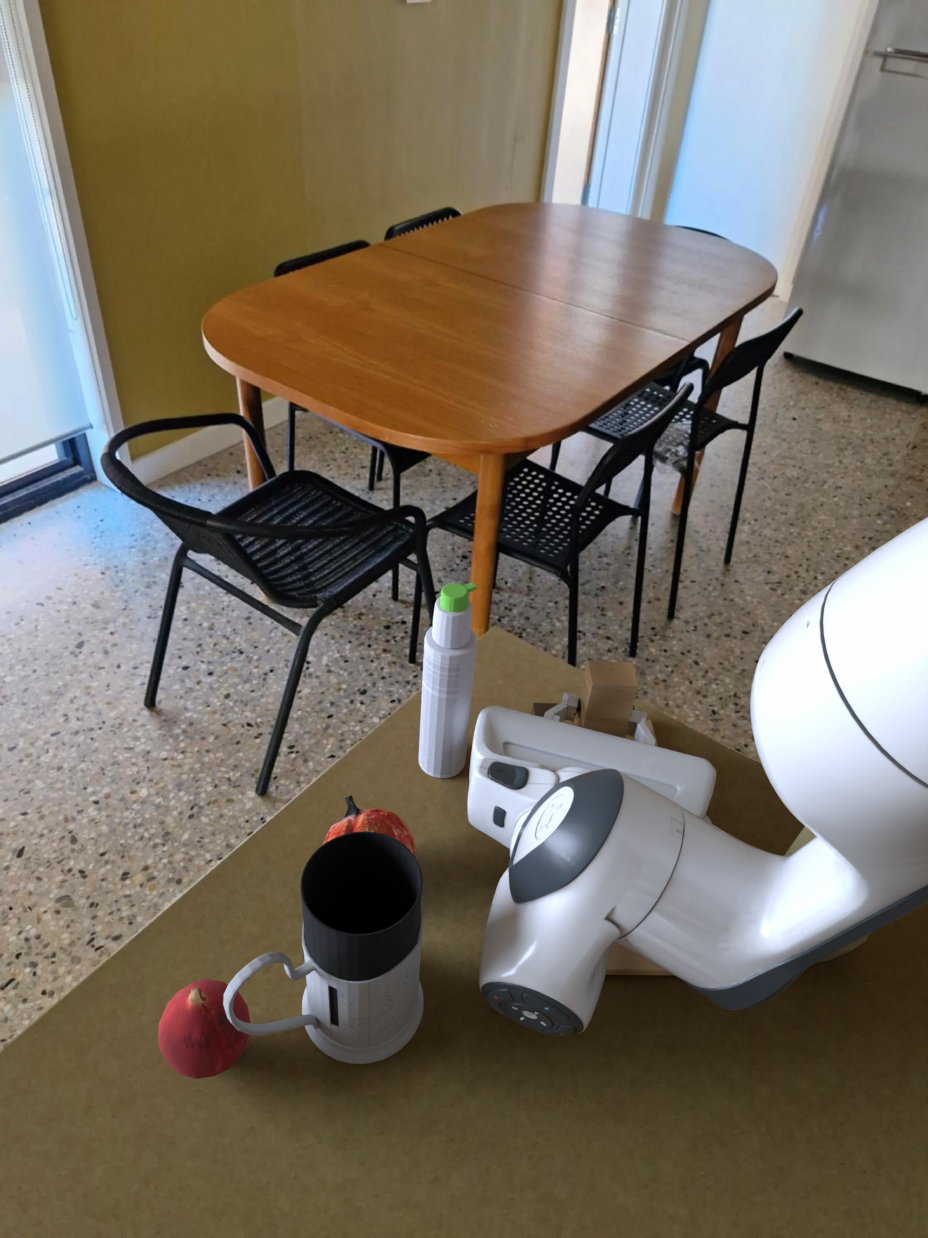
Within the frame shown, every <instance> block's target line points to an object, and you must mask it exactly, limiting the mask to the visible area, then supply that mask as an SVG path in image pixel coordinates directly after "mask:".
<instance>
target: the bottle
mask: <svg viewBox="0 0 928 1238" xmlns="http://www.w3.org/2000/svg"><path fill="white" fill-rule="evenodd" d="M477 587H478V586H477V585H476V584H475V583H474V582H472V581H471V582H469V583H465V584H464V585H463V584H460V583H457V582H451V583H447V584H445V585H443V587H441V590H440V596H439V597H438V598H437V599H436V600H435V603H434V608H433V616H432V626H431V627H429V629H428V630H427V631H426V633H425V635H424V641H423V659H422V660H423V662H422V681H421V682H422V683H421V701H420V718H419V719H420V723H419V740H418V741H419V743H418V744H419V745H418V764H419V766H420V769H421V770H422V771H423V772H424V773H425V774H426V775H428V776H430V777H432V778H435V779H436V778H437V779H450V778H453V777H455V776H457V775H459V774H460V773H461V772H462V770H463V769H464V768H465V765H466V760H467V759H466V758H467V751H468V741H469V732H470V731H469V728H470V721H471V720H470V719H471V710H472V701H473V700H472V698H473V689H474V681H475V669H476V661H477V659H476V658H477V651H478V637H477V634H476V633H475V632H474V630H473V629H472V625H473V605H472V602H471V600H470V599H469V593H471V592H474V591H476V590H477V589H478V588H477Z"/></svg>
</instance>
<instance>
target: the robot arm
mask: <svg viewBox="0 0 928 1238" xmlns="http://www.w3.org/2000/svg"><path fill="white" fill-rule="evenodd" d="M579 699H580V695H577V694H573V693H568V692H564V693H563V697H562V698H561V702H558V703H559V704H558V705H556V706H554V707H553V708H551V709H550V710H548V711H546V712H545V714H544V717H539V716H535V715H532V714H531V713H528V712H523V711H519V710H515V709H512V708H508V707H504V706H500V705H496V704H492V705H489V706H487V707H485V708H483V709H481V710H480V712H479V714H478V716H477V719H476V723H475V727H474V733H473V737H472V746H471V751H470V763H469V773H468V782H469V786H468V792H467V802H466V803H467V804H466V805H467V821H468V823H469V824H470V825H471V826H472V827H474V828H475V829H476V830H478V831H479V832H482V833H483V834H485V835H487V836H488V837H490V838H492V839H493V840H495V841H496V842H498V843H499V844H501V845H503V846H504V847H506V848H507V849H508V850H509V857H510V859H509V861H508V866H507V868H506V870H505V871H504V872H503V874H502V875H501V877H500V879H499V881H498V883H497V886H496V889H495V892H494V895H493V899H492V902H491V906H490V909H489V913H488V917H487V922H486V927H485V931H484V935H483V942H482V947H481V952H480V953H481V954H480V962H479V975H478V987H479V990H480V993H481V994H482V996H483V998H484V999H485V1000H486V1001H487V1002H488V1004H490V1005H491V1007H492V1009H494V1010H496V1011H497V1012H499V1013H500V1014H502V1015H504V1016H505V1017H507V1018H509V1019H510V1020H512V1021H513V1022H515V1023H517V1024H519V1025H521V1026H524V1027H525V1028H528V1029H530V1030H532V1031H534V1032H539V1033H542V1034H546V1035H548V1036H553V1037H568V1036H576V1035H580V1034H582V1033H583V1032H585V1031H586V1030H587V1028H588V1026H589V1024H590V1023H591V1020H592V1018H593V1015H594V1013H595V1009H596V1007H597V1004H598V1001H599V998H600V995H601V992H602V989H603V985H604V982H605V979H606V976H607V975H606V971H607V968H608V964H609V960H610V956H611V951H612V947H613V942H616V943H618V944H620V945H621V946H623V947H625V948H627V949H629V950H630V951H632V952H634V953H636V954H638V955H639V956H641V957H643V958H645V959H647V960H648V961H650V962H652V963H654V964H655V965H657V966H659V967H661V968H663V969H664V970H666V971H668V972H670V973H672V974H673V975H672V976H675V977H676V978H677V979H678V980H680V981H681V982H682V983H684V984H685V985H686V986H688V987H690V988H691V989H692V990H694V991H695V992H697V993H699V994H700V995H702V996H703V997H704V998H706V999H708V1001H710V1002H712V1003H714V1004H715V1005H717V1006H718V1007H719V1008H723V1009H726V1010H732V1011H735V1010H736V1011H737V1010H744V1009H747V1008H752V1007H756V1006H758V1005H761V1004H764V1003H766V1002H768V1001H771V1000H772V999H773V998H776V997H778V996H779V995H780V994H782V993H783V992H784V991H786V990H787V989H788V988H789V987H790V986H791V985H793V984H794V982H795V981H797V979H798V978H799V977H801V975H802V974H804V972H805V971H806V970H807V969H808V968H809V967H811V966H813V965H814V964H816V963H818V962H817V961H819V960H821V959H823V958H825V957H826V956H828V955H830V954H832V953H834V952H836V951H838V950H840V949H842V948H843V947H845V946H847V945H849V944H851V943H853V942H855V941H857V940H859V939H860V938H862V937H864V936H866V935H868V934H869V935H870V934H871V933H874V932H876V931H877V930H880V929H881V928H884V927H886V926H887V925H889V924H891V923H892V922H894V921H896V920H898V919H900V918H902V917H904V916H905V915H907V914H909V913H911V912H913V911H914V910H916V909H918V908H920V907H921V906H923V905H924V904H926V903H928V516H927V517H925V518H923V519H922V520H919V521H918V522H916V523H915V524H913V525H912V526H910V527H908V528H907V529H905V530H904V531H902V532H900V533H899V534H898V535H896V536H894V537H893V538H891V539H890V540H889V541H887V542H886V543H884V544H882V545H881V546H880V547H878V548H876V549H875V550H874V551H872V552H871V553H870V554H868V555H867V556H865V557H864V558H863V559H861V560H859V562H857V563H855V565H853V566H852V567H850V568H849V569H848V570H846V571H845V572H844V573H843V574H841V575H840V576H839V577H837V578H836V579H834V580H833V581H832V582H830V583H829V584H828V585H827V586H825V587H824V588H823V589H821V590H820V591H819V592H817V593H816V594H814V595H813V596H812V597H811V598H810V599H808V600H807V601H806V602H805V603H804V604H803V605H801V606H800V607H799V608H798V609H797V610H796V611H795V612H794V613H793V614H792V615H791V616H790V617H789V618H788V619H787V620H786V621H785V622H784V623H783V624H782V626H781V627H779V629H778V630H777V631H776V632H775V634H774V635H773V636H772V638H771V639H770V640H769V642H768V643H767V644H766V646H765V647H764V649H763V651H762V652H761V654H760V656H759V659H758V662H757V664H756V667H755V671H754V675H753V679H752V684H751V691H750V701H749V704H750V705H749V712H750V722H751V723H750V724H751V729H752V734H753V739H754V743H755V747H756V751H757V754H758V757H759V760H760V763H761V765H762V768H763V770H764V772H765V775H766V777H767V779H768V780H769V783H770V784H771V787H772V788H773V789H774V791H775V793H776V794H777V796H778V797H779V799H780V800H781V802H782V803H783V804H784V806H785V807H786V808H787V810H788V811H789V812H790V813H791V814H792V815H793V817H795V819H796V820H798V821H799V823H801V824H802V825H803V826H804V827H805V826H806V827H807V828H808V829H809V830H810V831H811V832H812V833H814V834H815V835H816V837H815V838H814V839H812V840H811V841H810V842H808V843H807V844H806V845H804V846H803V847H802V848H800V849H799V850H797V851H796V852H795V853H793V854H792V855H791V856H784V855H779V854H775V853H772V852H768V851H765V850H763V849H760V848H759V847H756V846H753V845H750V844H749V843H746V842H744V841H743V840H740V839H738V838H737V837H735V836H733V835H731V834H730V833H728V832H726V831H725V830H723V829H721V828H720V827H718V826H716V825H714V824H713V823H712V821H711V819H710V818H709V816H707V812H708V809H709V807H710V803H711V800H712V797H713V793H714V789H715V786H716V780H717V769H715V767H714V766H713V764H712V763H711V761H709V760H708V759H706V758H705V757H704V758H703V757H699V756H696V755H693V754H688V753H684V752H679V751H676V750H672V749H668V748H664V747H660V746H658V747H657V746H655V743H656V741H657V739H656V740H655V738H654V737H653V735H652V733H651V732H650V730H649V728H648V727H647V725H645V724H646V720H647V718H648V713H647V712H644V711H639V710H637V709H635V710H632V713H631V717H630V720H629V722H628V725H627V726H628V728H627V729H626V733H625V735H629V736H632V737H634V738H635V741H633V740H629V739H625V738H621V737H618V736H614V735H610V734H606V733H602V732H598V731H594V730H590V729H586V728H582V727H578V726H575V725H571V724H567V723H563V721H564V720H570V721H574V720H575V716H576V713H577V709H578V704H579ZM560 703H561V704H560Z"/></svg>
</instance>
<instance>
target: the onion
mask: <svg viewBox="0 0 928 1238" xmlns="http://www.w3.org/2000/svg"><path fill="white" fill-rule="evenodd" d="M228 984H229V983H226V982H225V981H221V980H216V979H211V978H204V979H201V980H198V981H197V980H196V981H193V982H191V983H190V984H188V985H186V986H185V987H183V988H181V989H180V990H178V991H177V992H176V993H175V994H174V995H173V996H172V998H171V999H170V1000H169V1001H168V1002H167V1004H166V1006H165V1008H164V1010H163V1013H162V1015H161V1018H160V1020H159V1022H158V1038H157V1039H158V1041H157V1043H158V1048H159V1051H160V1052H161V1054H162V1056H163V1058H164V1061H165V1062H166V1064H168V1065H169V1066H170V1067H171V1068H172V1069H173V1070H174V1071H175V1072H177V1073H178V1074H179V1075H180V1076H183V1077H188V1078H191V1079H196V1080H198V1079H205V1078H213V1077H216V1076H217V1075H219V1074H221V1073H223V1072H225V1071H227V1070H229V1069H230V1068H232V1067H233V1066H234V1065H235V1064H236V1062H237V1061H238V1060H239V1059H240V1058H241V1057H242V1055H243V1054H244V1053H245V1052H246V1048H247V1045H248V1042H249V1039H250V1035H249V1034H246V1033H244V1032H241V1031H239V1030H238V1029H237V1028H236V1027H235V1026H234V1025H233V1024H232V1023H231V1022H230V1021H229V1019H228V1018H227V1015H226V1012H225V1009H224V1005H223V1001H224V993H225V991H226V989H227V986H228ZM233 1012H234V1014H235V1016H236V1017H237V1018H238V1019H239V1020H241V1021H243V1022H246V1023H251V1024H252V1022H251V1017H250V1011H249V1007H248V1004H247V1003H246V1001H245V1000H244V998H243V997H242V995H241V993H240V992H239V990H238V991H237V993H236V996H235V998H234V1000H233Z"/></svg>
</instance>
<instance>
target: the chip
mask: <svg viewBox="0 0 928 1238" xmlns="http://www.w3.org/2000/svg"><path fill="white" fill-rule="evenodd" d="M559 703H560V704H561V702H557V703H556V702H532V708H531V713H530V714H532V715H535V716H539V717H544V714H545V712H546V711H548V710H550V709H551V708H553V707H554V706H556V705H558V704H559Z"/></svg>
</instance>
